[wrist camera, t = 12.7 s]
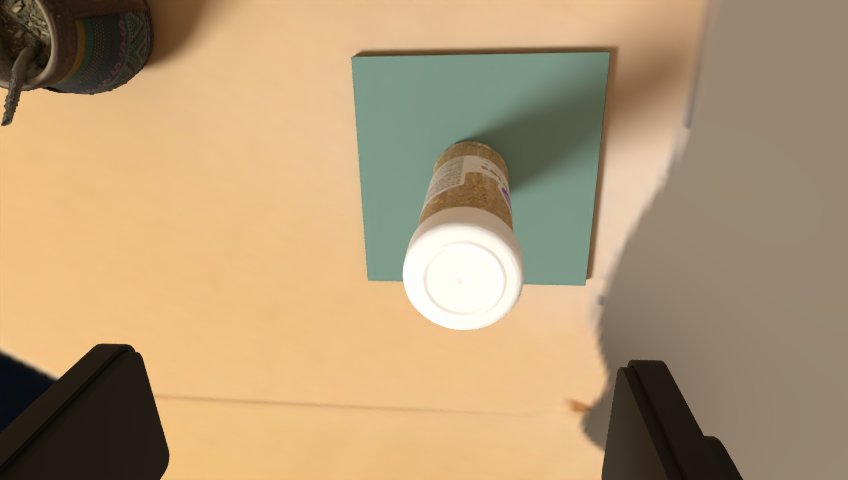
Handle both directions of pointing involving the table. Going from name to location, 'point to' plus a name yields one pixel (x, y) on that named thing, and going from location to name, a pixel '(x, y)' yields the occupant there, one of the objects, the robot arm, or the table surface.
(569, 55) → the mat
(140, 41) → the mate gourd
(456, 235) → the sprinkles bottle
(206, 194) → the table surface
